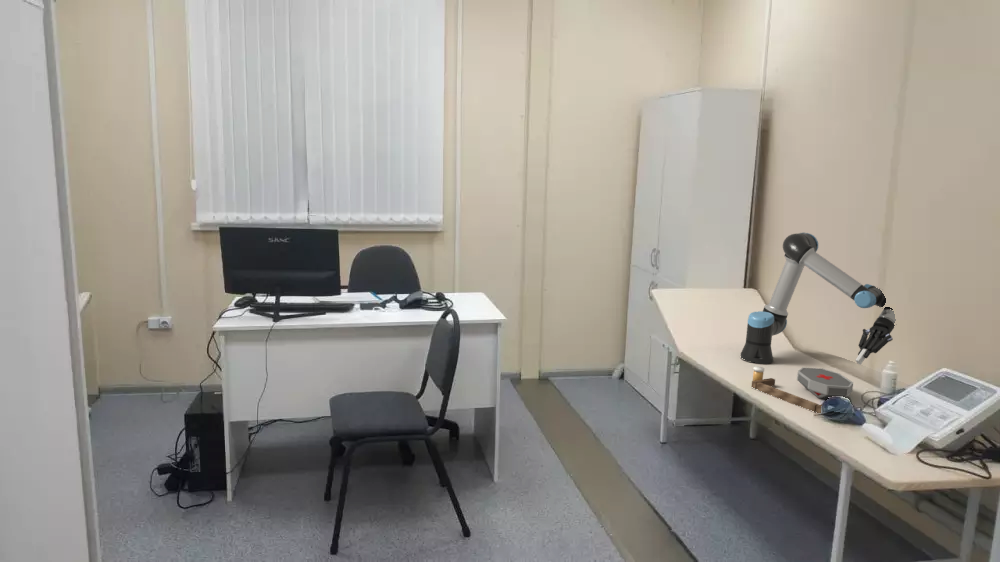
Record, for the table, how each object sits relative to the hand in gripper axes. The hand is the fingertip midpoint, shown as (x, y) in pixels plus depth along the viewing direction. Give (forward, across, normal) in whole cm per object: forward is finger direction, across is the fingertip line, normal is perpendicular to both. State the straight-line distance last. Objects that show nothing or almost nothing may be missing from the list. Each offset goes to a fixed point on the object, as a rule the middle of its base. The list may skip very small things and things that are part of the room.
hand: (858, 362), depth 282 cm
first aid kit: (+23, 0, -6) cm, 24 cm away
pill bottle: (+35, -20, -19) cm, 44 cm away
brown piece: (+35, -1, -19) cm, 40 cm away
